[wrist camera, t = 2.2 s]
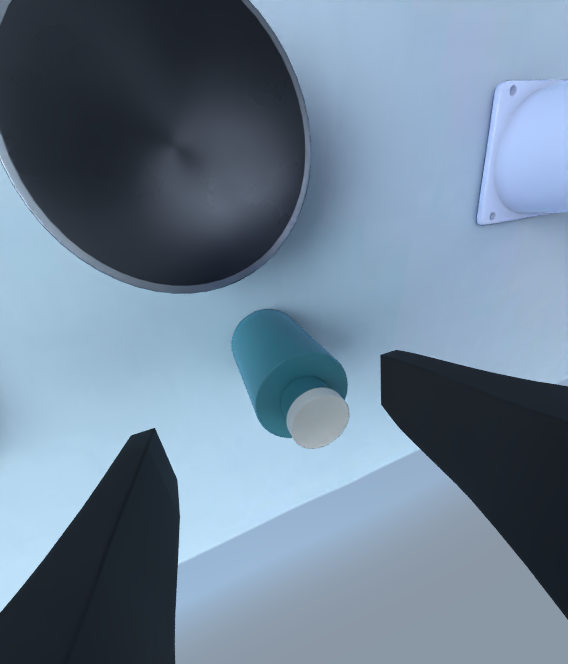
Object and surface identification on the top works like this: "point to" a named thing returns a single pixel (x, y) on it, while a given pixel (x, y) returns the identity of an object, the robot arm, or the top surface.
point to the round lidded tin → (154, 135)
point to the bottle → (291, 379)
